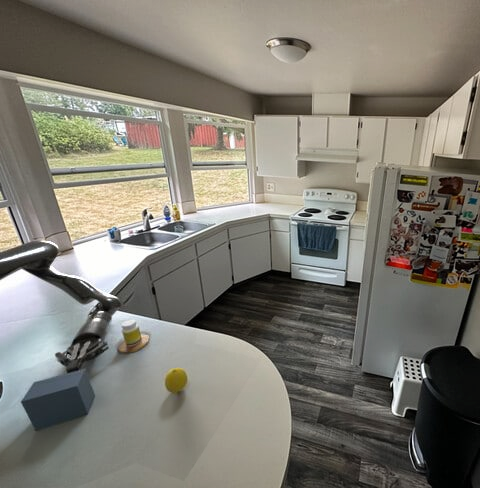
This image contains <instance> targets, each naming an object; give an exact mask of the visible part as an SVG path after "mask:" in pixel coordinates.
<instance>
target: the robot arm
mask: <svg viewBox="0 0 480 488" xmlns="http://www.w3.org/2000/svg"><path fill="white" fill-rule="evenodd" d="M59 253H60V249H59V247H58V245H57V244H55V243H54V242H51V241H47V240H32V241H28V242H25V243H22V244H20V245H17V246H14V247H12V248H8V249H6V250H2V251H0V281H1V280H3V279H5V278H7V277H8V276H9V275H11V274H12V273H14V272H15V271H17V270H19V269H21V270H23V271H25V272H27V273H28V274H30V275H32V276H34V277H36V278H38V279H39V280H42V281H44V282H46V283H48V284H50V285H52V286H54V287H55V288H58V289H59V290H61V291H62V292H63V293H65V294H67V296H69V297H70V298H72V299H73V300H74V301H76V302H77V303H79V304H81V305H83V306H86V305H89V304H91V303H93V302H94V301H97V303H96V304H95V305H94V306H93V308H91V309H90V311H89V312H88V314H87V318H86V320H85V322H84V323H83V324H82V325H81V327H80V328H79V330H78V331H77V333H76V335H75V336H74V337H73V340H72V341H71V344H70V345H69V346H68V347H67V348H66V350H64V351H63V352H61V351H58V352H55V353H54V356H55V358H56V361H57V362H58V363H60V364H61V365H62V366H63V367H65V371H66V374H67V373H71V372H75V371H79V370H82V367H83V365H84V364H86V362H92V361H94V360H95V359H96V358H97V357H99V356H100V355H102V354H103V353H105V352H106V351H108V350H109V348H110V347H109V343H108V341H105V338H106V336H107V334H108V331H109V328H110V326H111V323H112V320H113V316H114V315H115V314H116V313H117V311H119V309H120V308H121V307H122V301H121V300H120V298H119V297H117V296H115V295H114V294H113V295H112V294H110V293H107V292H105V291H103V290H100V289H99V288H96V286H94V285H93V284H91V282H89V281H88V280H86V279H84V278H82V277H80V276H76V275H69V274H65V273H61V272H59V271H58V270H57V269H55V268H54V267H53V266H52V264H53V263H54V261H55V260H56V258H57V257H58V255H59ZM68 355H69V356H70V358H69V357H68Z"/></svg>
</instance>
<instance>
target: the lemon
mask: <svg viewBox="0 0 480 488" xmlns="http://www.w3.org/2000/svg"><path fill="white" fill-rule="evenodd" d="M187 383H188V375H187V371H185V369H183V368H182V367H174V368H172V369H170V370H168V372H167V373H166V375H165V377H164V387H165V389H166V390H167V391H168V392H169V393H172V394H176V393H179V392H181V391H183V389H184V388H185V387H186V385H187Z"/></svg>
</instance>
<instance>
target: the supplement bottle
mask: <svg viewBox="0 0 480 488" xmlns="http://www.w3.org/2000/svg"><path fill="white" fill-rule="evenodd" d="M121 328H122V329H121V333H122V337H123V340H125V344H126V346H134V345H137V344H138V343H140V342H141V340H142V338H141V334H142V333H141V330H140V326H139V325H138V323H137V320H136V319H133V318H132V319H131V318H130V319H127V320H125V321H124V322H122V323H121Z"/></svg>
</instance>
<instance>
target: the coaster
mask: <svg viewBox="0 0 480 488" xmlns="http://www.w3.org/2000/svg"><path fill="white" fill-rule="evenodd" d="M140 334H141V338H142V340H141V342H140V343H138V344H137V345H134V346H126V344H125V340H124V339H123V340H122V341H121V342H120V343H119V344H118V346H117V350H118V351H119V353H121V354H131V353H135V352H137V351H139V350H142V349H143V348H145V347H146V346H147V345H148V344H149V343H150V336H149V335H148V334H144V333H140Z"/></svg>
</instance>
